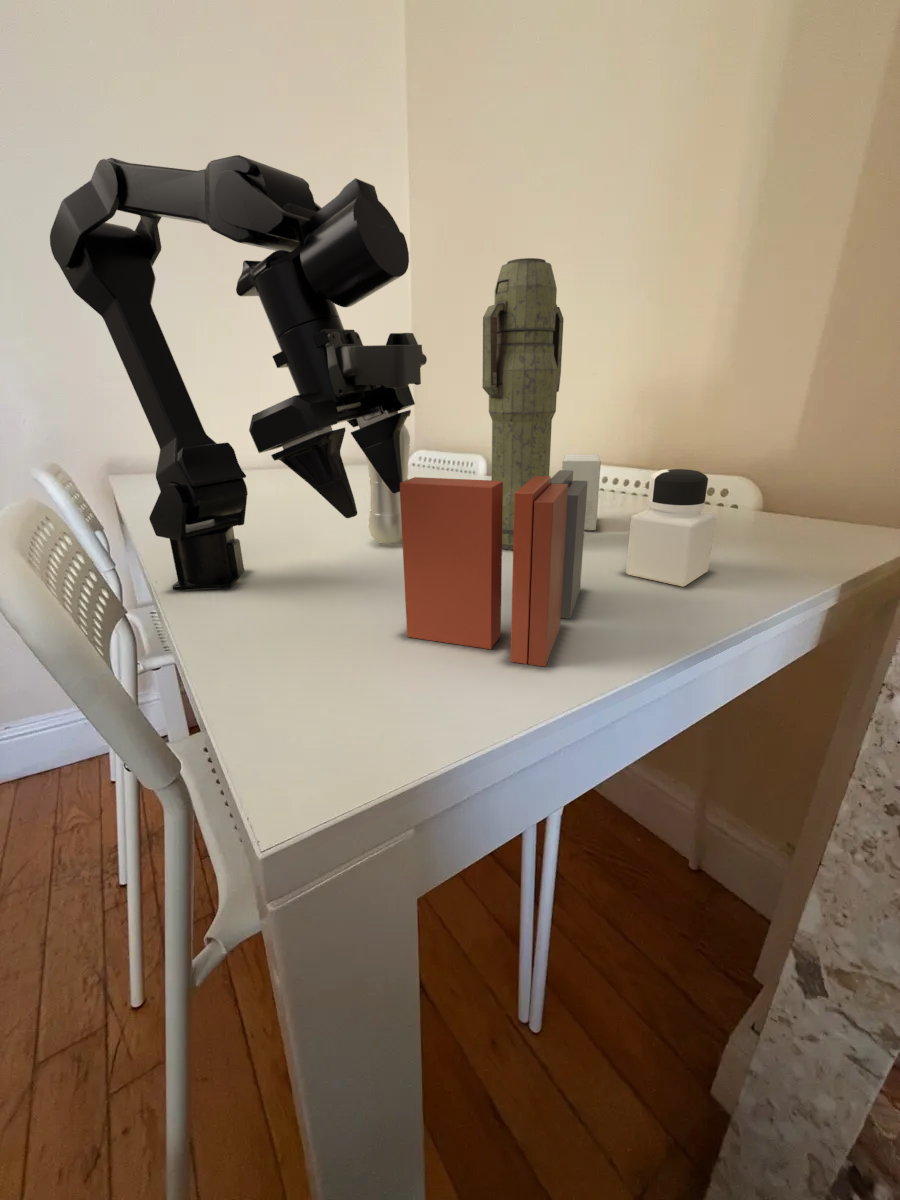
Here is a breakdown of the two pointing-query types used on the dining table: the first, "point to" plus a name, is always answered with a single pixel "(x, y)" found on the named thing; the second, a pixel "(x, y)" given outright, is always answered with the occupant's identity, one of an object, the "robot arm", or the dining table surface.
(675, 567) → the medicine bottle
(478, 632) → the rust book
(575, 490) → the grey books
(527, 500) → the rust books
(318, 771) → the dining table surface
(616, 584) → the dining table surface
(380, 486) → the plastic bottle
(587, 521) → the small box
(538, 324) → the olive green military canister
